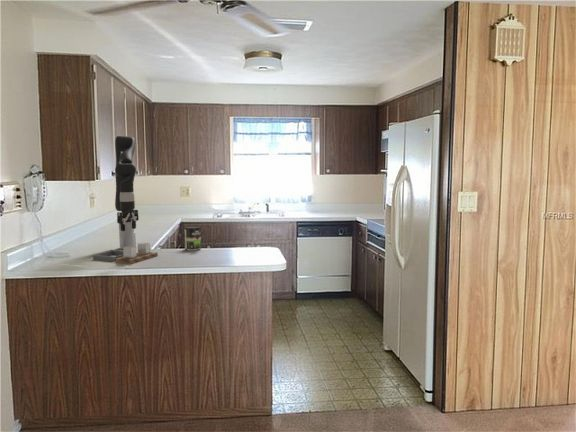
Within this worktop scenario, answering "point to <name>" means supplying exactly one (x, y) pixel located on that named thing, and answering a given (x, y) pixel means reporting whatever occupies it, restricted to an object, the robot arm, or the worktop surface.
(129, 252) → the block
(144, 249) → the block
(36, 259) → the worktop surface
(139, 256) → the pallet
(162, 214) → the worktop surface
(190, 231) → the coffee can
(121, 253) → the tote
